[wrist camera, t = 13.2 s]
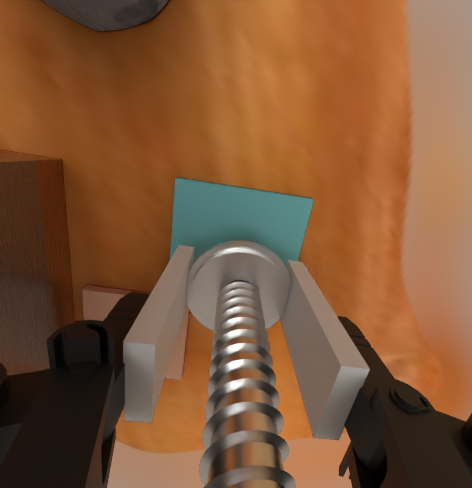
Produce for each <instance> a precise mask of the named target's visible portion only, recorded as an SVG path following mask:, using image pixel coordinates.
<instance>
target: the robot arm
mask: <svg viewBox="0 0 472 488" xmlns="http://www.w3.org/2000/svg"><path fill="white" fill-rule="evenodd" d="M193 256H194V247H190V246H183V245H179V246H178V247H177V249H176V251H175V252H174V254H173V256H172V258H171V259H170V261H169V263H168V265H167V266H166V268H165V270H164V272H163V273H162V275H161V277H160V279H159V280H158V282H157V284H156V285H155V287H154V289H153V291H152V292H151V294H148V293H140V292H130V293H128V294H127V295H125V296H123V297H122V298H120V299H119V301H118V302H117V303H116V305H115V306H114V307H113V309H112V310H111V311H110V312H109V314H108V315H107V317H106V318H105V319H104V320H103V321H99V320H83V321H77V322H74V323H71V324H68V325H65V326H63V327H61V328H60V329H58V330H57V331H55V332H53V334H52V335H51V336H50V337H49V338H48V339H47V340H46V342H47V350H48V357H49V365H50V369H45V370H41V371H35V372H28V373H21V374H15V375H8V374H7V369H6V368H5V367H4V365H3V364H2V363H0V488H107V484H108V478H109V472H110V467H111V461H112V456H113V450H114V444H115V439H116V430H115V426H116V424H117V422H118V419H119V417H120V415H121V412H122V410H123V420H124V421H135V422H146V423H151V422H152V418H153V415H154V412H155V408H156V405H157V402H158V398H159V395H160V392H161V388H162V385H163V382H164V378H165V375H166V372H167V368H168V365H169V362H170V358H171V355H172V352H173V349H174V345H175V342H176V339H177V335H178V332H179V329H180V325H181V322H182V319H183V315H184V312H185V309H186V305H187V301H186V292H187V282H188V273H189V270H190V268H191V266H192V264H193ZM286 268H287V270H288V272H289V275H290V279H291V283H292V284H291V288H290V292H289V296H288V300H287V303H286V307H285V311H284V314H283V316H282V317H281V318H280V321H281V324H282V328H283V331H284V335H285V338H286V342H287V346H288V349H289V353H290V356H291V360H292V363H293V367H294V370H295V374H296V378H297V381H298V385H299V388H300V392H301V395H302V399H303V403H304V406H305V410H306V413H307V417H308V420H309V424H310V428H311V431H312V435H313V438H319V439H330V440H339V438H340V436H341V434H342V432H343V429H344V427H346V430H347V432H348V435H349V437H350V440H351V443H350V445H349V447H348V449H347V451H346V454H345V455H344V457H343V460H342V462H341V464H340V466H339V476H342V477H343V476H344V474H345V472H346V469H347V467H348V466H349V472H350V475H349V479H351V483H352V488H472V414H471V415H470V417H469V418H468V420H467V421H466V422H465V421H463V420H460V419H457V418H455V417H452V416H449V415H446V414H444V413H441V412H438V411H436V410H435V409H434V408H433V407H432V405H431V404H430V402H429V401H428V400H427V399H426V398H425V397H424V396H423V395H422V394H421V393H420V392H419V391H417V390H416V389H414V388H413V387H411V386H410V385H408V384H406V383H404V382H401V381H399V380H396V379H394V377H393V376H392V374H391V373H390V372H389V370H388V369H387V367H386V366H385V365H384V363H383V362H382V360H381V359H380V358H379V356H378V355H377V353H376V352H375V350H374V349H373V348H371V345H370V343H369V342H368V341H367V339H365V336H364V335H363V334H362V332H361V331H360V329H359V328H358V327H357V326H356V325H355V324H354V323H353V322H351V321H350V320H349V319H348V318H347V317H340V316H336V314H335V313H334V311H333V310H332V308H331V306H330V305H329V303H328V302H327V300H326V298H325V297H324V295H323V294H322V292H321V290H320V289H319V287H318V286H317V284H316V282H315V281H314V279H313V278H312V276H311V275H310V273H309V271H308V270H307V268H306V267H305V265H304V263H303V262H299V261H291V260H288V261H287V266H286Z"/></svg>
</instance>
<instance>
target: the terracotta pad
mask: <svg viewBox="0 0 472 488" xmlns="http://www.w3.org/2000/svg"><path fill="white" fill-rule="evenodd" d="M130 292H138V291H130V290H122V289H114V288H106V287H98V286H90V285H87V286H86V287H85V288H84V289H82V296H83V311H84V320H99V321H103V320H104V319H105V318H106V317H107V315H108V314H109V312H110V311H111V310H112V309H113V307H114V306H115V305H116V303H117V302H118V301H119V299H120V298H122V297H123V296H125V295H127V294H128V293H130ZM140 293H147V292H140ZM148 294H151V293H148ZM189 310H190V309H189V307H188V305H186V309H185V312H184V315H183V319H182V322H181V325H180V329H179V332H178V335H177V339H176V342H175V345H174V349H173V352H172V355H171V358H170V362H169V365H168V368H167V372H166V375H165V378H164V379H174V380H182V375H183V367H184V358H185V348H186V339H187V329H188V320H189Z"/></svg>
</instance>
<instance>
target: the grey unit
mask: <svg viewBox="0 0 472 488" xmlns="http://www.w3.org/2000/svg"><path fill="white" fill-rule="evenodd" d="M74 322H75V316H74V304H73V292H72V280H71V268H70V256H69V243H68V231H67V219H66V207H65V195H64V182H63V170H62V159H57V158H51V157H44V156H38V155H31V154H25V153H18V152H12V151H5V150H0V363H2V364H3V365H4V367H5V368H6V369H7V374H8V375H15V374H21V373H28V372H35V371H41V370H45V369H50V365H49V357H48V350H47V342H46V340H47V339H48V338H49V337H50V336H51V335H52V334H53V332H55V331H57V330H58V329H60V328H61V327H63V326H65V325H68V324H71V323H74Z"/></svg>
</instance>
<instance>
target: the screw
mask: <svg viewBox="0 0 472 488" xmlns="http://www.w3.org/2000/svg"><path fill="white" fill-rule="evenodd" d="M291 284H292V283H291V279H290V275H289V272H288V270H287V268H286V267H285V265H284V263H283V261H282V260H281V259H280V258H279V257H278V256H277V255H276V254H275V253H274V252H273V251H271V250H270V249H268V248H267V247H265V246H262V245H260V244H258V243H255V242H250V241H244V240H239V241H228V242H223V243H219V244H217V245H215V246H213V247H211V248H209V249H207V250H206V251H205V252H203V253H202V254H201V255H200V256H199V257H198V258H197V259H196V260H195V262H194V263H193V264H192V266H191V268H190V270H189V273H188V282H187V292H186V301H187V305H188V307H189V309H190V311H191V313H192V314H193V316H194V317H195V318H196V319H197V320H198V321H199V322H200V323H201V324H202V325H204V326H205V327H207V328H208V329H210V330H212V331H214V336H213V342H212V345H213V349H212V352H211V361H212V362H211V365H210V370H209V375H210V381H209V383H208V388H207V393H208V398H209V399H208V401H207V404H206V408H205V416H206V420H207V423H206V425H205V427H204V430H203V435H202V440H203V445H204V448H205V450H206V451H205V453H204V454H203V456H202V458H201V460H200V464H199V474H200V478H201V481H202V483H203V484H204V486H205V487H204V488H295V487H296V483H295V480H294V478H293V477H292V476H291V475H290V474H289V473H287V472H285V471H284V468H283V462H284V461H285V460H286V459H287V457H288V454H289V446H288V444H287V442H286V441H285V440H284V439H283V438H281V437H280V436H278V434H279V433H280V432H281V430H282V428H283V425H284V419H283V417H282V415H281V413H280V412H279V411H278V410H277V409H276V408H277V406H278V404H279V394H278V392H277V390H276V389H275V388H274V385H275V382H276V377H275V374H274V372H273V370H272V369H271V368H272V363H273V362H272V357H271V355H270V354H269V351H270V345H269V342H268V340H267V331H266V329H268V328H269V327H271V326H272V325H273V324H275V323H276V322H277V321H278V320H279V319H280V318H281V317H282V316H283V314H284V311H285V307H286V303H287V300H288V296H289V292H290V288H291Z"/></svg>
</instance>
